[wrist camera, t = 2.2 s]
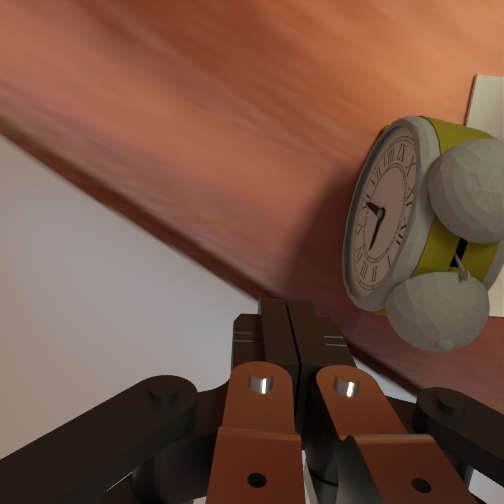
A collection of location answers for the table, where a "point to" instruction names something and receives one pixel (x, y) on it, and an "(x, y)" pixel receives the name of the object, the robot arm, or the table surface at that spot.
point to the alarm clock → (427, 231)
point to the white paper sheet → (500, 126)
